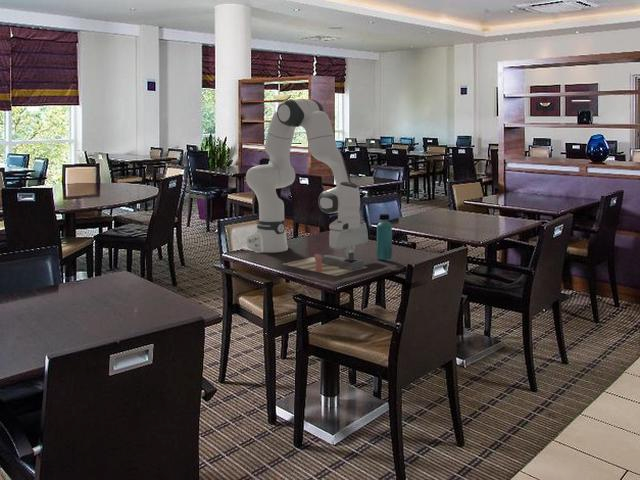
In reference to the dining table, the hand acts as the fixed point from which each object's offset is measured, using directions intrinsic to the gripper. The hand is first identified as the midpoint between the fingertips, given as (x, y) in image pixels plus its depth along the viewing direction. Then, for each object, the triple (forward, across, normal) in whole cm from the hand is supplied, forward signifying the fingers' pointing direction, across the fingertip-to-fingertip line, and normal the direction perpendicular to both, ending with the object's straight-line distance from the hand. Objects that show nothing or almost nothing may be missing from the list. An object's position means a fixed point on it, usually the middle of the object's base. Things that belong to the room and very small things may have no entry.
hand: (349, 256), depth 265 cm
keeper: (+2, +17, -2) cm, 17 cm away
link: (+3, +6, +1) cm, 7 cm away
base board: (+4, +10, -4) cm, 12 cm away
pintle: (+4, +6, +6) cm, 10 cm away
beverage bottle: (+4, -14, +6) cm, 16 cm away
